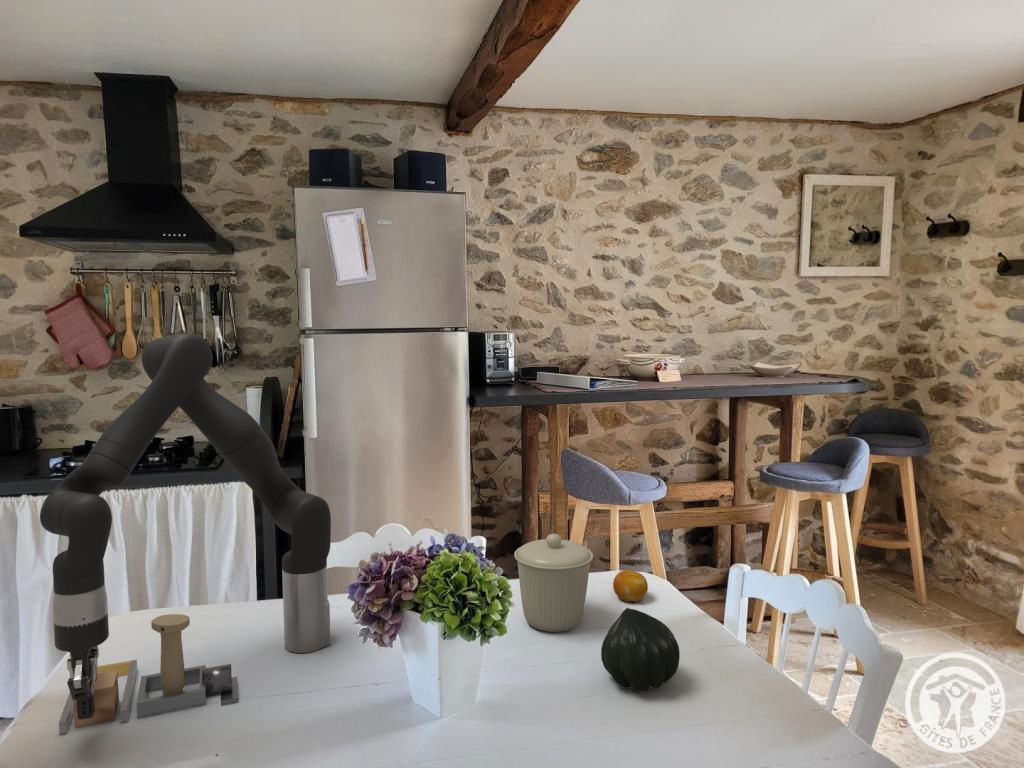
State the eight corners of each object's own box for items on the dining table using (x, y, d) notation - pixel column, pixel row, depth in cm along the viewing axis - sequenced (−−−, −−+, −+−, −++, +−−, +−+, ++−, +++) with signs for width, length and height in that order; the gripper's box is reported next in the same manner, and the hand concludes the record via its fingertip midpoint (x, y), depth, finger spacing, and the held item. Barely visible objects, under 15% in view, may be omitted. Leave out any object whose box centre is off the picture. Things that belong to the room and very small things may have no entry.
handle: (181, 707, 128) (178, 626, 127) (148, 704, 129) (145, 624, 128) (197, 693, 133) (194, 615, 131) (165, 690, 134) (162, 613, 132)
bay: (137, 676, 141) (136, 659, 140) (127, 728, 123) (126, 709, 123) (79, 686, 137) (78, 669, 136) (60, 742, 119) (58, 722, 119)
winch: (236, 679, 140) (235, 652, 139) (238, 705, 131) (237, 676, 130) (142, 696, 133) (141, 668, 133) (137, 725, 124) (136, 695, 124)
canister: (596, 641, 156) (597, 547, 154) (513, 640, 156) (513, 547, 154) (588, 606, 174) (589, 522, 172) (514, 606, 174) (514, 522, 172)
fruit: (639, 596, 172) (635, 563, 176) (608, 601, 176) (605, 569, 180) (655, 602, 178) (651, 570, 182) (625, 607, 182) (621, 575, 186)
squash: (703, 670, 133) (671, 593, 140) (634, 690, 127) (604, 608, 135) (670, 690, 143) (641, 617, 151) (605, 709, 138) (579, 632, 146)
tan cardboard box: (119, 701, 129) (117, 670, 129) (115, 719, 124) (113, 686, 123) (80, 709, 127) (78, 677, 126) (74, 727, 121) (72, 694, 121)
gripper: (101, 627, 110) (107, 733, 112) (112, 595, 122) (117, 692, 124) (44, 635, 107) (51, 744, 109) (61, 602, 119) (67, 700, 121)
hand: (86, 716), depth 116 cm, fingers closed
